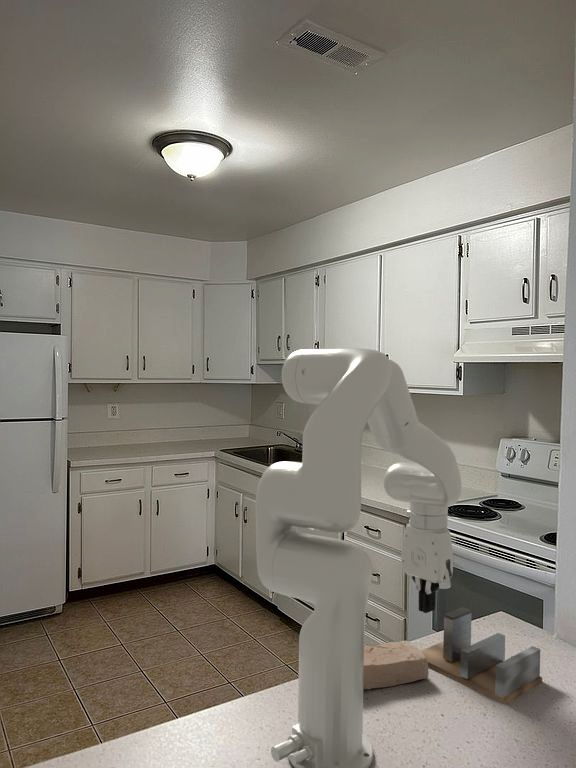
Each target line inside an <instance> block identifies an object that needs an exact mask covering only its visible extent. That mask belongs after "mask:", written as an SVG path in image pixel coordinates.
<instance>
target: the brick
mask: <svg viewBox="0 0 576 768" xmlns="http://www.w3.org/2000/svg"><path fill="white" fill-rule="evenodd" d="M421 651H422V650H421V649H419V648H417V646H415V645H414V644H413V643H412V642H410V641H409V640H401V641H390V642H385V643H381V644H377V645H375V646H371V645H364V676H363V691H365V690H371V689H379V688H387V687H394V686H397V685H404V684H407V683H408V684H410V683H412V682H416V681H419V680H426V679H428V678H429V674H430V673H429V667H428V662H427V661H426V656H425V655H424V654H423V652H421Z"/></svg>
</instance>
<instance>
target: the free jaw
mask: <svg viewBox="0 0 576 768" xmlns="http://www.w3.org/2000/svg"><path fill="white" fill-rule="evenodd" d="M472 612H473V611H472V609H470V608H466V607H464V606H461V607H459V608H457V609H454V610H452V611H449V612H446V613H444V614H443V641H444V643H443V658H444V659H446V660H448V661H450V662H454V661H456V660H458V659H459V660H461V669H460V676H462V677H464V678H466V679H469V678H471V677H473V676H475V675H477V674H478V673H480V672H482V671H484V670H486V669H488V668H490V667H492V666H494V665H496V664H498V663H500V662H502V661H505V660H506V657H505V656H506V635H505V634H502V633H501V632H496V633H494V634H492V635H490V636H488V637H486V638H483V639H482V640H479V641H477V642H475V643H473V644H472V615H473V614H472Z"/></svg>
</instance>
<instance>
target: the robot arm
mask: <svg viewBox="0 0 576 768" xmlns="http://www.w3.org/2000/svg"><path fill="white" fill-rule="evenodd" d="M281 384H282V386H283V389H284V391H285V393H286V394H287V396H288V397H289V398H291V399H292V400H293V401H294V402H297V403H302V404H309V405H310V404H311V405H317V407H316V408H315V410H314V411H313V413H311V415H310V417H309V418H308V420H307V422H306V424H305V426H304V428H303V429H304V430H303V433H302V434H303V435H302V457H301V459H302V460H301V462H300V461H286V460H284V461H278V462H275V463H272V464H271V465H269V466H268V467H267V468H266V469H265V471H264V472H263V473H262V475H261V478H260V479H259V482H258V485H257V487H256V488H257V489H256V495H255V539H256V540H255V542H256V543H255V545H256V548H255V550H256V567H257V575H258V578H259V581H260V582H261V584H262V585H263V586H264V587H265V589H267V590H269V591H270V592H272V593H274V594H275V593H276V594H279V595H282V596H286V597H290V598H294V599H298V600H301V601H304V602H307V603H310V604H312V605H313V606H314V609H313V612H312V613H311V614H310V615H309V616H308V617H307V619H305V621H304V622H303V624H302V626H301V629H300V632H299V638H298V639H299V640H298V695H297V697H298V699H297V701H298V702H297V703H298V704H297V709H298V710H297V723H296V724H294V725H292V726H291V727H292V728H291V729H292V730H291V731H292V732H291V734H290V735H289V736H288V737H287V740H286V741H282V742H280V743H277V744H276V745H273V746H271V748H270V754H271V757H272V759H273V761H274V762H277V763H278V762H279V761H282V760H284V759H286V758H288V760H289V762H290V763H291V765H292V766H293V767H294V768H369V767H370V766H371V765H372V763H373V760H374V749H373V745H372V742H371V740H370V739H369V738H368V736H367V735H366V734H364V733H363V728H364V727H363V726H364V725H363V723H364V722H363V721H364V690H363V676H364V646H365V630H366V629H365V626H366V615H367V614H366V613H367V605H368V601H369V600H368V599H369V595H370V591H371V585H372V579H373V563H372V560H371V557H370V556H369V553H367V551H365V550H364V549H363V548H362V547H361V546H360V545H358V544H355V543H352V542H351V541H348V540H344V539H339V538H334V537H328V536H324V535H316V534H309V533H306V532H305V533H304V532H300V531H299V530H298V529H299V528H301V529H302V528H303V529H307V530H313V531H318V532H319V531H320V532H326V533H333V534H334V533H335V534H337V533H338V534H340V533H346V532H347V533H348V532H349V531H351V530H354V528H355V527H356V526H357V524H358V523H359V520H360V516H361V509H362V442H363V440H362V439H363V435H364V429H365V427H366V425H367V424H368V427H369V430H370V431H371V435H372V437H373V440H374V442H375V443H376V445H378V446H379V447H381V448H383V449H384V450H385V451H388V452H390V453H391V454H393V455H396V456H398V457H399V458H403V459H406V460H408V461H409V462H403V461H399V462H396V463H394V464H392V465H391V466H390V467H389V468H388V469H387V470H386V472H385V473H384V477H383V487H384V490H385V492H386V494H387V495H388V497H390V498H392V500H396V501H398V502H402V503H403V502H404V503H409V510H407V512H406V516H407V517H409V523H407V524H406V526H405V529H404V533H403V540H402V546H401V547H402V548H401V559H400V565H401V566H400V567H401V569H402V571H403V572H404V573H405V575H406V576H408V577H410V579H412V580H413V582H414V584H415V589H416V590H417V591H418V611H419V612H422V613H424V614H428V613H431V612H433V611H435V609H436V593H437V592H438V591H439V590H441V589H442V590H446V589H450V588H451V586H452V585H451V584H452V582H451V579H452V577H453V574H454V573H453V571H454V558H453V555H454V554H453V542H452V536H451V530H450V529H448V517H449V515H448V513H449V511H448V510H449V507H452V506H454V505H455V504H456V503H457V502H458V501H459V499H460V497H461V495H462V477H461V473H460V469H459V465H458V463H457V459H456V458H457V457H456V456H455V453H454V451H453V450H452V448H451V447H450V446H449V444H447V442H446V441H444V440H443V439H442V438H441V437H440V436H438V434H436V433H435V432H434V431H433V430H431V428H429V427H428V426H426V425H424V424H423V423H422V422H420V421H419V418H418V415H417V411H416V408H415V406H414V402H413V399H412V397H411V393H410V389H409V386H408V384H407V380H406V378H405V375H404V372H403V370H402V368H401V366H400V365H399V364H398V363H396V362H395V361H394V360H392V359H390V358H389V357H388V356H387V355H386V354H385V353H383V352H381V351H379V350H375V349H371V348H370V349H369V348H359V347H358V348H357V347H356V348H355V347H353V348H352V347H351V348H350V347H349V348H347V347H346V348H345V347H344V348H307V349H306V348H305V349H303V348H302V349H298V350H296V351H294V352H292V353H291V354H290V355H288V356H287V358H286V359H285V361H284V363H283V365H282V368H281Z"/></svg>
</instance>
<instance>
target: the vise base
mask: <svg viewBox="0 0 576 768" xmlns="http://www.w3.org/2000/svg"><path fill="white" fill-rule="evenodd" d="M443 643H444V640H443V641H440V642H439V643H435V644H433V645H432V646H428V647H427V648H424V649H422V650H421V652H423V654H424V655H425V656H426V661H427V662H428V669H432V670H433V671H435V672H437V673H439V674H442V675H444V676H446V677H448V678H450V679H451V680H454V681H456V682H458V683H460V684H462V685H464V686H466V687H468V688H470V689H472V690H475V691H476V692H478V693H481V694H483V695H485V696H487V697H488V698H491V699H493V700H495V701H497V702H499V703H501V704H503V705H505V706H506V705H508V704H509V703H511V702H512V701H514V700H516V699H517V698H518V697H521V696H522V695H524V694H525V693H527V692H528V691H530V690H531V689H533V688H535V687H537V685H539V684H541V683H543V677H542V676H540V674H541V649H540V648H538V647H536V646H533V645H532V646H530V647H528V648H527V649H524V650H522V651H520V652H518V653H517V654H515V655H513V656H511V657H508V658H507V659H505V660H504V661H502V662H500V663H498V664H496V665H494V666H492V667H490V668H488V669H486V670H484V671H482V672H480V673H478V674H477V675H475V676H473V677H471V678H469V679H466V678H464V677H462V676H460V669H461V660H459V659H458V660H456V661H454V662H450V661H448V660H446V659H444V658H443ZM529 689H530V690H529ZM526 691H527V692H526Z"/></svg>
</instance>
